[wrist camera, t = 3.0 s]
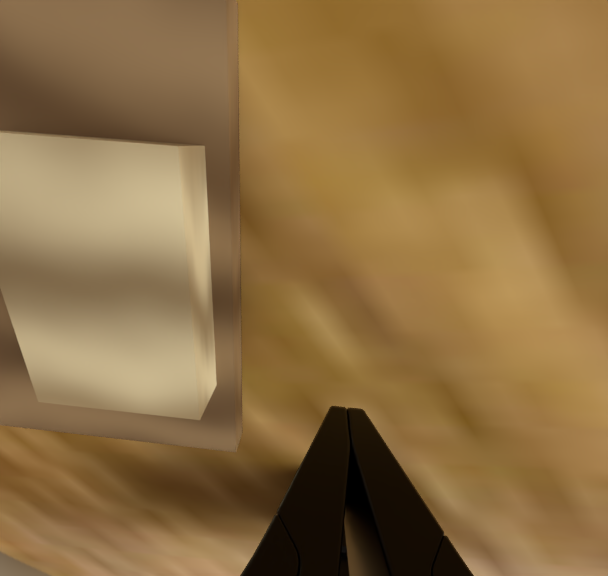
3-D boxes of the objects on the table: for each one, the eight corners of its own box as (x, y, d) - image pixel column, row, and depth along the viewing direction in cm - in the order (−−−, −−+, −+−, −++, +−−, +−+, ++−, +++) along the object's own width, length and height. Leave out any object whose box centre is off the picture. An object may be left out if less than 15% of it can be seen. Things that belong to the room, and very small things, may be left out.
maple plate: (216, 384, 18) (199, 420, 16) (74, 369, 18) (38, 402, 16) (204, 145, 13) (177, 146, 11) (11, 131, 13) (-54, 128, 11)
